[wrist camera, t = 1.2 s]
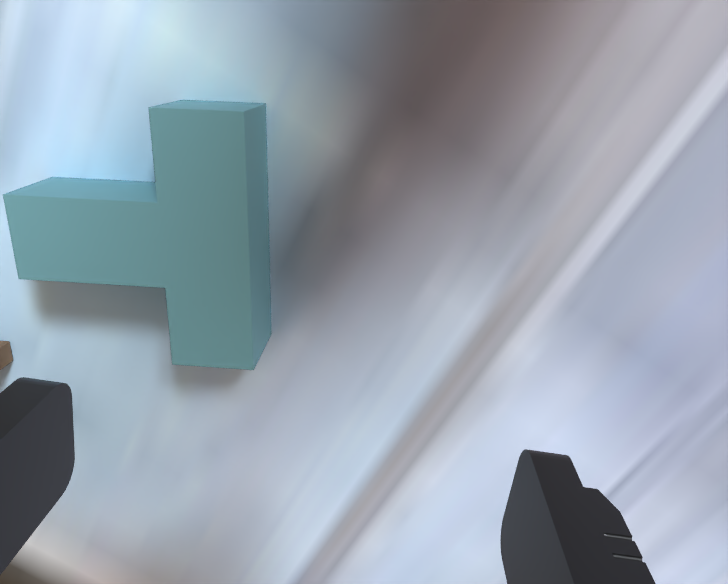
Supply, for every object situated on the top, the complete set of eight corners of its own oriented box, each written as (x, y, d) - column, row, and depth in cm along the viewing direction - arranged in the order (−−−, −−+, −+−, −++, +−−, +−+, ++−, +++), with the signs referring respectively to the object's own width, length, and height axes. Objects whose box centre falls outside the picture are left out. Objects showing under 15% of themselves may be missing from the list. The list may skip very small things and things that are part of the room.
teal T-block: (265, 103, 29) (243, 111, 25) (271, 334, 33) (253, 370, 30) (39, 93, 29) (-15, 100, 26) (74, 321, 34) (32, 355, 30)
